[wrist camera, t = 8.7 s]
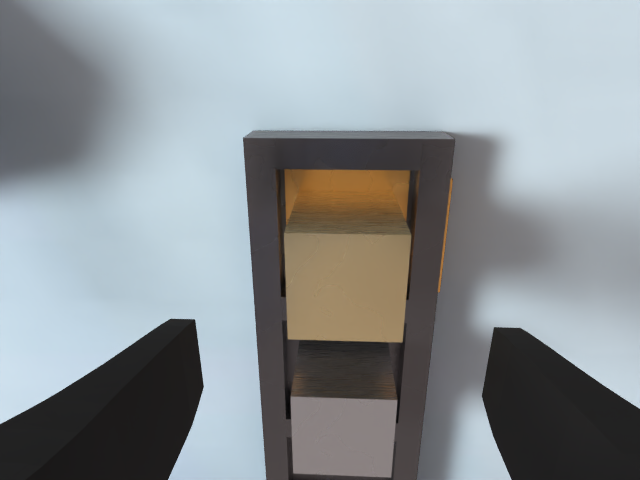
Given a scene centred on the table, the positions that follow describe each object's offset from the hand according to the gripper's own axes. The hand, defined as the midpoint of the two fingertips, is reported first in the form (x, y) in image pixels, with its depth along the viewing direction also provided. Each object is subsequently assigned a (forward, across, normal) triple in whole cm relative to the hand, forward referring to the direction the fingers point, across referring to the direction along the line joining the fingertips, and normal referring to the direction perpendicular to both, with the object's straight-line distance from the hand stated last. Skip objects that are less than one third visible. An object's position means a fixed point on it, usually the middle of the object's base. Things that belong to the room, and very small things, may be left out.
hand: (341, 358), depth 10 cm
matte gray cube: (+9, 0, +7) cm, 11 cm away
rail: (+10, 0, +7) cm, 12 cm away
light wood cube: (+9, 0, 0) cm, 9 cm away
